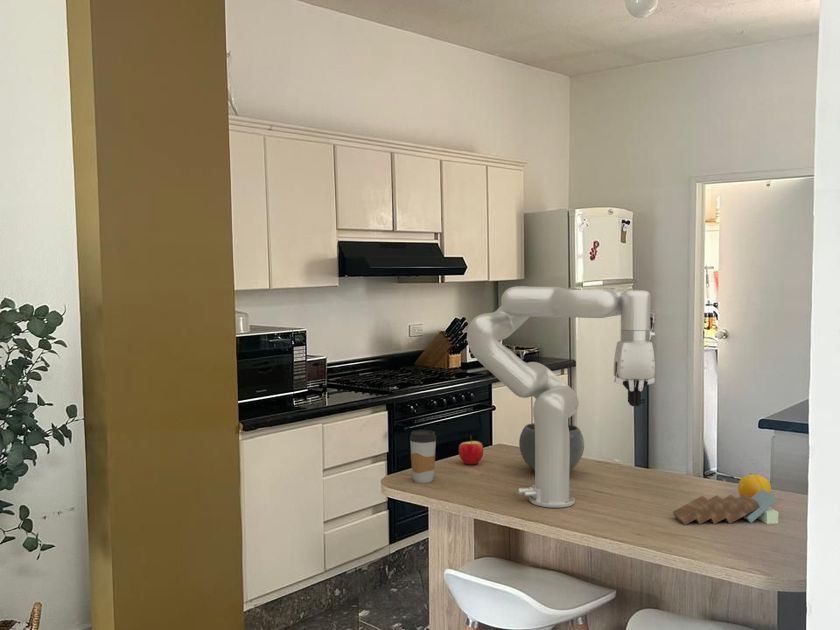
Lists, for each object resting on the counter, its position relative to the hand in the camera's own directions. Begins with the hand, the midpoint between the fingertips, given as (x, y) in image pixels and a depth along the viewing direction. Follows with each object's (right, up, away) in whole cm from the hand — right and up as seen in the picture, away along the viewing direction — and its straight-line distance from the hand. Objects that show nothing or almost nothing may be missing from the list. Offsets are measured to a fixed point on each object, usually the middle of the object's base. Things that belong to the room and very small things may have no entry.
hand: (634, 405), depth 212 cm
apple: (-40, -26, +56) cm, 74 cm away
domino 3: (+18, -29, -5) cm, 34 cm away
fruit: (+36, -29, +11) cm, 48 cm away
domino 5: (+27, -29, -4) cm, 40 cm away
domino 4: (+22, -29, -5) cm, 36 cm away
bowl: (-15, -27, +44) cm, 54 cm away
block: (+33, -29, -4) cm, 44 cm away
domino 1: (+10, -29, -6) cm, 31 cm away
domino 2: (+14, -29, -5) cm, 32 cm away
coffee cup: (-56, -27, +35) cm, 71 cm away
